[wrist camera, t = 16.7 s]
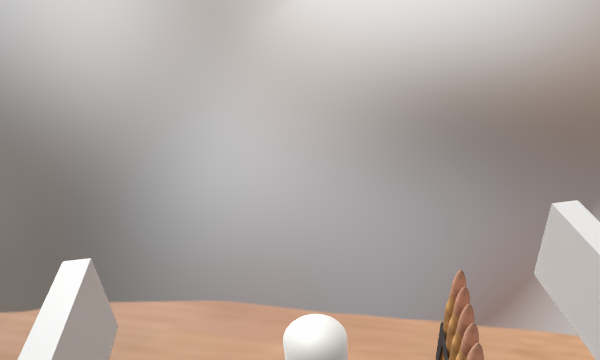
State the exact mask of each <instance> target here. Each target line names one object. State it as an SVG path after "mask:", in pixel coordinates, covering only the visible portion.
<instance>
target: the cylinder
mask: <svg viewBox="0 0 600 360" xmlns="http://www.w3.org/2000/svg"><path fill="white" fill-rule="evenodd" d="M283 346H284V353H285V360H348V357H347V335H346V331H345V329H344V328H343V326H342V325H341V324H340V323H339V322H338V321H337V320H335V319H334V318H332V317H330V316H327V315H322V314H310V315H305V316H302V317H300V318H298V319H296V320H295V321H293V322H292V323H291V324H290V325H289V326H288V328H287V329H286V331H285V333H284V337H283Z"/></svg>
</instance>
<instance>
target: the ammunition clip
mask: <svg viewBox="0 0 600 360" xmlns="http://www.w3.org/2000/svg"><path fill="white" fill-rule="evenodd" d="M436 360H484V356H483V350H482V347H481V345H480V343H479V334H478V329H477V326H476V324H475V323H474V313H473V309H472V306H471V305H470V296H469V292H468V289H467V287H466V279H465V275H464V272H463V271H462V270H460V271H459V272H458V273H457V275H456V276H455V278H454V280H453V284H452V287H451V292H450V296H449V300H448V303H447V305H446V309H445V316H444V323H441V326H440V333H439V339H438V346H437V353H436Z"/></svg>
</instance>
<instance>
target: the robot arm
mask: <svg viewBox="0 0 600 360" xmlns="http://www.w3.org/2000/svg"><path fill="white" fill-rule="evenodd" d="M534 275H535V276H536V277H537V279H538V280H539V282H540V283H541V284H542V286H543V287H544V289H545V290H546V291H547V293H548V294H549V295H550V297H551V298H552V300H553V301H554V302H555V304H556V305H557V306H558V308H559V309H560V311H561V312H562V313H563V315H564V316H565V317H566V319H567V320H568V322H569V323H570V324H571V326H572V327H573V329H574V330H575V331H576V333H577V334H578V336H579V337H580V338H581V340H582V341H583V342H584V344H585V345H586V347H587V348H588V349H589V351H590V352H591V354H592V355H593V356H594V358H595V359H596V360H600V222H599V221H598V220H597V219H596V218H595V217H594V216H593V215H592V214H591V213H590V212H589V211H588V210H587V209H586V208H585V207H584V206H583V205H582V204H580V202H578V201H568V202H560V203H552V205H551V209H550V213H549V216H548V220H547V224H546V228H545V232H544V236H543V240H542V243H541V247H540V251H539V256H538V259H537V263H536V267H535V271H534ZM117 328H118V324H117V322H116V319H115V317H114V314H113V312H112V309H111V307H110V304H109V302H108V299H107V297H106V294H105V292H104V289H103V287H102V285H101V282H100V280H99V277H98V275H97V272H96V270H95V267H94V265H93V262H92V260H91V258H89V259H81V260H72V261H64V262H62V264H61V267H60V269H59V271H58V273H57V275H56V277H55V280H54V282H53V284H52V286H51V288H50V291H49V293H48V295H47V297H46V300H45V301H44V304H43V306H42V308H41V310H40V312H39V314H38V317H37V319H36V321H35V323H34V325H33V328H32V330H31V332H30V334H29V336H28V338H27V341H26V343H25V345H24V347H23V349H22V352H21V354H20V356H19V358H18V360H109V358H110V354H111V350H112V347H113V343H114V339H115V336H116V332H117Z"/></svg>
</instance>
